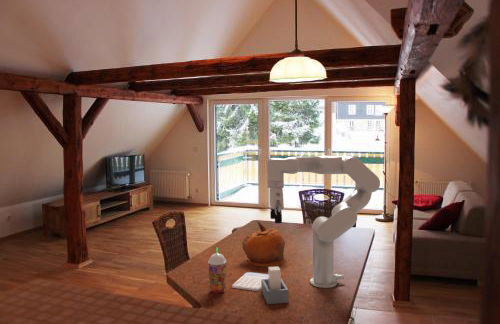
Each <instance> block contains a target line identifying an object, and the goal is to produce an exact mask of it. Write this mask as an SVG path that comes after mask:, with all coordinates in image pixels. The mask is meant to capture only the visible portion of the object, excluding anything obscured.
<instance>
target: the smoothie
mask: <svg viewBox="0 0 500 324" xmlns="http://www.w3.org/2000/svg"><path fill="white" fill-rule="evenodd" d="M215 249H216V250H215V253H213V254H212V255H210V257H209V259H208V261H207V265H208V276H209V277H208V278H209V288H210V291H211V292H212V293H214V294H221V293H224V291H225V289H226V279H227V277H226V276H227V259H226V257H225V256H224V255H223V254H222V253H219V251H218V250H219V247H215Z"/></svg>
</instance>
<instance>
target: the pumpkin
mask: <svg viewBox="0 0 500 324" xmlns="http://www.w3.org/2000/svg"><path fill="white" fill-rule="evenodd" d="M256 222H257V225H258V226H259V229H260V230H259V231H256V232H251V233H250V234H249V235H247V236H245V237H244V239H243V240H242V243H241V244H242V250H243V252H244V254H245V255H246V258H247V262H248V263H249V264H251V265H252V264H253V266H256V267H257V266H258V267H265V268H268V267H278V266H281V265H283V264H285V263H286V261H287V259H286V257H285V255H284V252H285V245H286V242H285V239H284V236H283V235H282V233H281V232H280V231H279V230H278V229H277V228H276V227H274V226H272V227H271V228H269V229H267V228H266V227H265V226H264V225H263V224H262V223H261V222H260V221H258V220H257V221H256Z"/></svg>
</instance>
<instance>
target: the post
mask: <svg viewBox="0 0 500 324" xmlns="http://www.w3.org/2000/svg"><path fill="white" fill-rule="evenodd" d="M267 269H268V271H267V274H268V282H269V290H278V289H281V279H282V277H281V276H282V273H281V272H282V271H281V268H280V266H268V267H267Z"/></svg>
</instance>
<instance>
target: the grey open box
mask: <svg viewBox="0 0 500 324" xmlns="http://www.w3.org/2000/svg"><path fill="white" fill-rule="evenodd" d="M261 283H262V288H261V293H262V295H263V298H264V300H265V302H266V304H267V305H274V304H287V303H289V302H290V299H289V294H290V293H289V289H288V287H287V285H286V284H285V282H284V280H283V279H282V278H281V289H278V290H269V282H268V279H261Z"/></svg>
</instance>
